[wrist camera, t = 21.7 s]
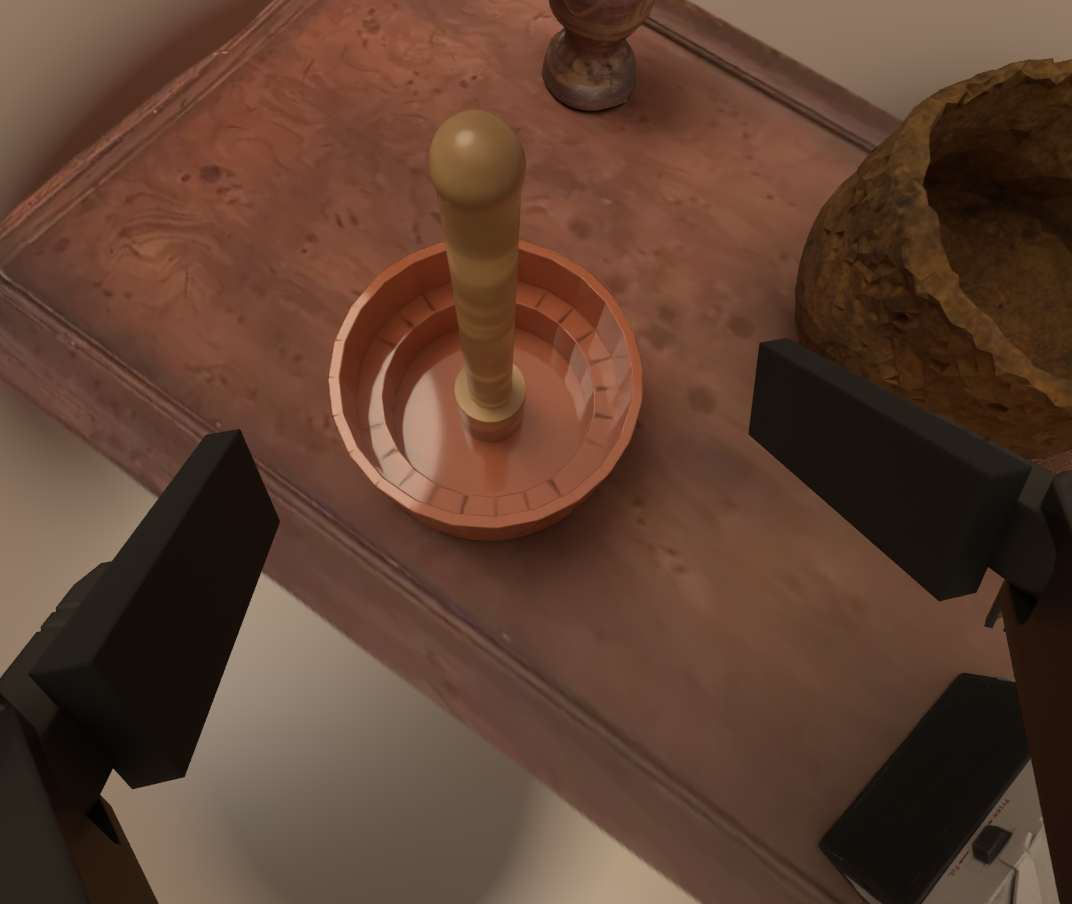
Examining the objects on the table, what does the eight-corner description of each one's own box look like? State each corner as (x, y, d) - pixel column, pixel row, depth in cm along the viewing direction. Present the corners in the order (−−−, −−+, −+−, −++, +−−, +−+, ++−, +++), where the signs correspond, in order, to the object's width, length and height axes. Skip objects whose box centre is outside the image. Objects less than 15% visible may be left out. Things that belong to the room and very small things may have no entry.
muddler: (487, 455, 33) (464, 222, 12) (446, 408, 34) (359, 113, 13) (536, 415, 34) (589, 137, 13) (495, 370, 34) (485, 38, 14)
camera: (907, 981, 28) (1116, 1172, 18) (792, 812, 30) (925, 905, 20) (1078, 809, 30) (1337, 897, 21) (961, 665, 32) (1149, 685, 23)
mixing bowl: (474, 598, 31) (467, 599, 25) (311, 400, 34) (264, 352, 27) (666, 428, 35) (705, 389, 28) (505, 261, 37) (505, 187, 31)
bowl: (706, 422, 35) (847, 303, 21) (784, 206, 40) (941, -11, 26) (978, 537, 34) (1321, 495, 20) (1023, 301, 39) (1325, 132, 25)
